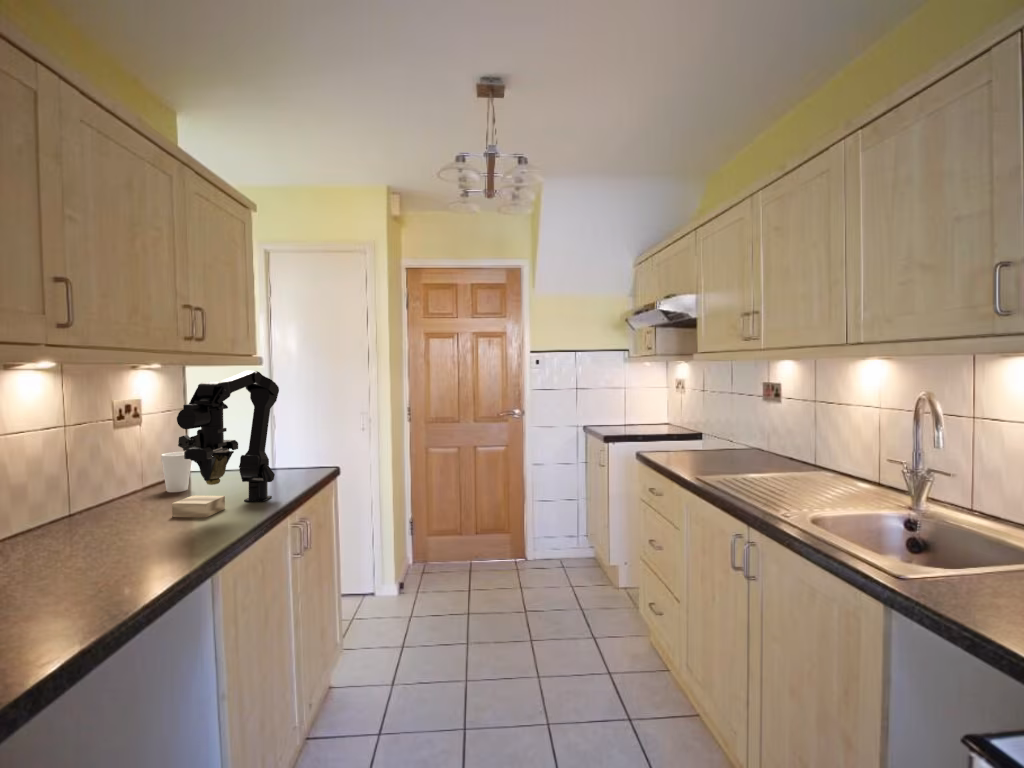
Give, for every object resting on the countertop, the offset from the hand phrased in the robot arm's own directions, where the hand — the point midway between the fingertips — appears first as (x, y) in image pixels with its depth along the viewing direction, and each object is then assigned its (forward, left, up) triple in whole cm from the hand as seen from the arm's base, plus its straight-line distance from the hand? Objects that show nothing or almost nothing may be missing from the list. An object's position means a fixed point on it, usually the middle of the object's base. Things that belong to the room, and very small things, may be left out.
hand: (213, 478), depth 159 cm
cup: (0, 0, -2) cm, 2 cm away
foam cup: (-33, -32, -12) cm, 47 cm away
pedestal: (-4, -7, -11) cm, 14 cm away
